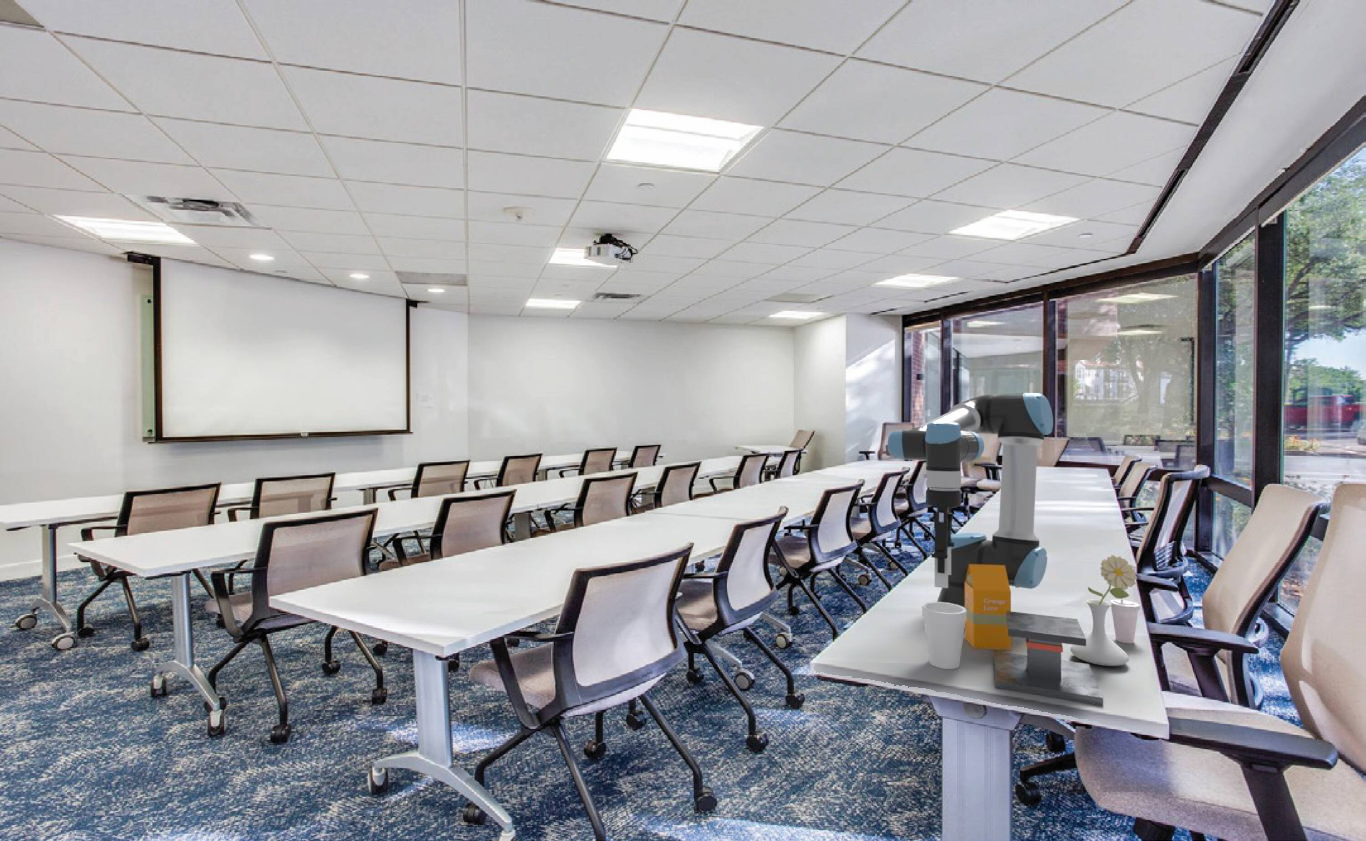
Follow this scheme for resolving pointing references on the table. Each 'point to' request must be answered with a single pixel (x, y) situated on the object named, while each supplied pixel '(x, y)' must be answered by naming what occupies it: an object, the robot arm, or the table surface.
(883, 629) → the table surface
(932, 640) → the foam cup
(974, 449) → the robot arm
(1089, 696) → the stand
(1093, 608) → the flower in vase
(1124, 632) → the smoothie
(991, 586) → the orange juice
